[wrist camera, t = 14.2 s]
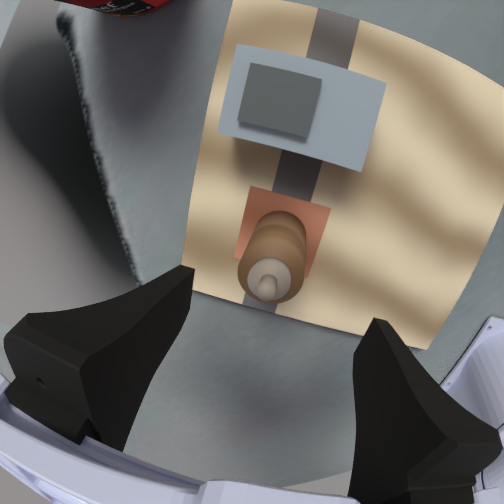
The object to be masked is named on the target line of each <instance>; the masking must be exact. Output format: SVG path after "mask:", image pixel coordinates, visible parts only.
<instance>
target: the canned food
mask: <svg viewBox="0 0 504 504" xmlns="http://www.w3.org/2000/svg"><path fill="white" fill-rule="evenodd" d="M55 1H60V2H65V3H69V4H73V5H77V6H81V7H85V8H89V9H93V10H96V11H100V12H103V13H107V14H110V15H114V16H119V17H128V16H135V15H142V14H146V13H149V12H152V11H154V10H156V9H158V8H161V7H162V6H164V5H165V4H167V3H169V2H170V1H172V0H55Z"/></svg>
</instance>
